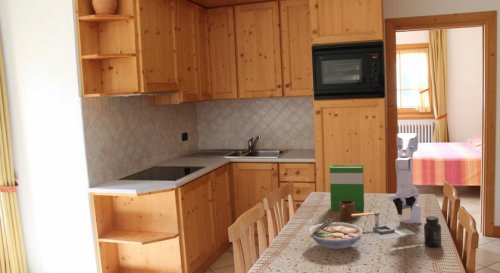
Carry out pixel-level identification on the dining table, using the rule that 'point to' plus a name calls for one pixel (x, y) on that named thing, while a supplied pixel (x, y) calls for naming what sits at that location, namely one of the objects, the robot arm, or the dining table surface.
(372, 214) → the orange flat bar
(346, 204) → the mug
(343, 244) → the ramen bowl
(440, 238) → the supplement bottle
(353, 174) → the green cereal box
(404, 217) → the plug
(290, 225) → the dining table surface
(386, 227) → the socket board
